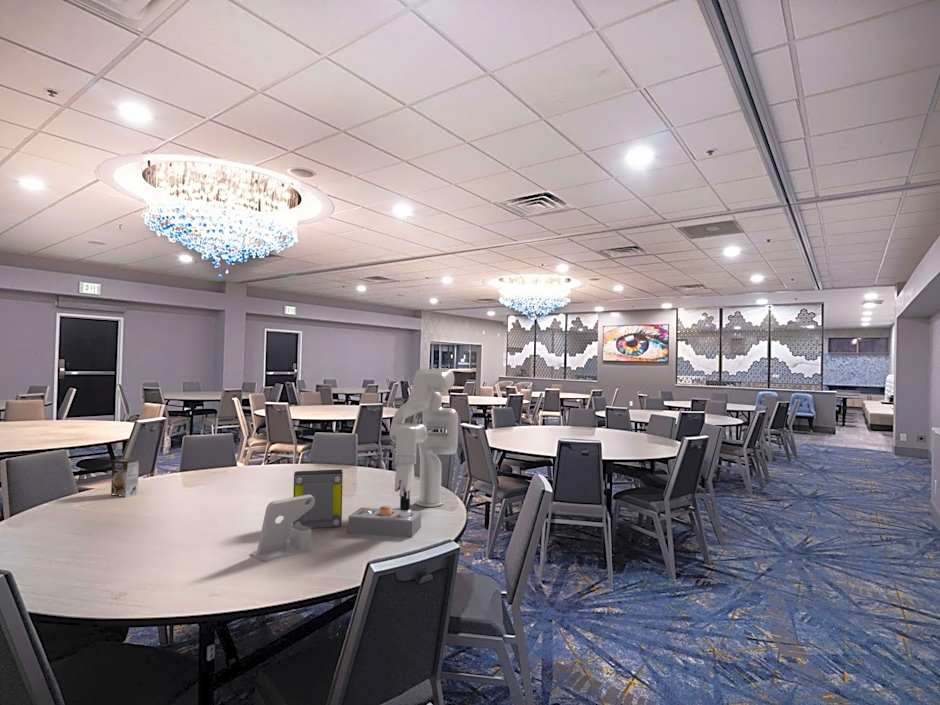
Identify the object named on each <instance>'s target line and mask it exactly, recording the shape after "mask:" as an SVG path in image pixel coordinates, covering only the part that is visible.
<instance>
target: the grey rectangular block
mask: <svg viewBox="0 0 940 705" xmlns="http://www.w3.org/2000/svg"><path fill="white" fill-rule="evenodd" d="M366 509H369V510H372V514H371V515H366V514H360V513H361V511H362V510H366ZM399 510H400V509H392V515H391V516H381V515H380V508H375V507H373V508H372V507H359V509H357V510H356V511H354V512H352V513H351V514H350V515H349V516H348V533H349V534H362V535H374V536H386V537H387V536H388V537H389V536H390V537H400V538H402V537H403V538H405V537H406V538H413V537H414V536H415V535H416V533H417V532H419V530H420V529H421V527H422V511H420V510H411V517H399Z"/></svg>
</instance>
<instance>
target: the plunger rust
mask: <svg viewBox="0 0 940 705" xmlns="http://www.w3.org/2000/svg"><path fill="white" fill-rule="evenodd" d="M379 509H380V515H381V516H391V515H392V510H393V509H392V506H390V505H382V506H380V507H379Z"/></svg>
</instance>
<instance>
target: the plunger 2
mask: <svg viewBox="0 0 940 705" xmlns="http://www.w3.org/2000/svg"><path fill="white" fill-rule="evenodd" d="M398 510H399V517H411V511H412V509H411V508H410V509H409V510H400V509H398Z"/></svg>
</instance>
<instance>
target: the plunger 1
mask: <svg viewBox="0 0 940 705" xmlns="http://www.w3.org/2000/svg"><path fill="white" fill-rule="evenodd" d="M360 514H366V515H371V514H372V510H369V509H366V510H362V511H361V513H360Z"/></svg>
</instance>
